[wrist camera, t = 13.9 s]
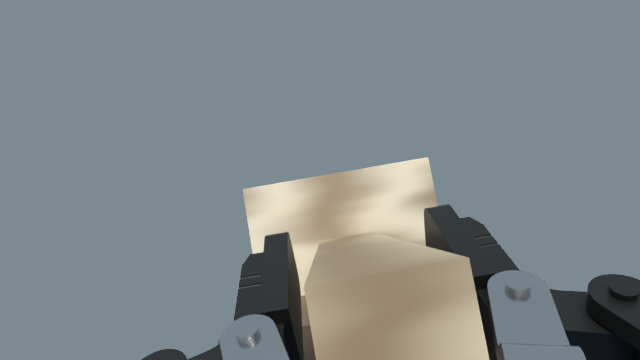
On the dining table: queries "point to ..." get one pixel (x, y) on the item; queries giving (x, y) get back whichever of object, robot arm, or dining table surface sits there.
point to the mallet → (372, 265)
